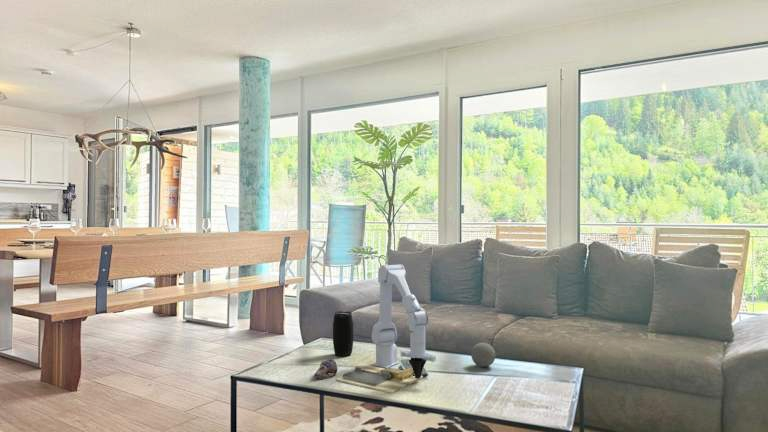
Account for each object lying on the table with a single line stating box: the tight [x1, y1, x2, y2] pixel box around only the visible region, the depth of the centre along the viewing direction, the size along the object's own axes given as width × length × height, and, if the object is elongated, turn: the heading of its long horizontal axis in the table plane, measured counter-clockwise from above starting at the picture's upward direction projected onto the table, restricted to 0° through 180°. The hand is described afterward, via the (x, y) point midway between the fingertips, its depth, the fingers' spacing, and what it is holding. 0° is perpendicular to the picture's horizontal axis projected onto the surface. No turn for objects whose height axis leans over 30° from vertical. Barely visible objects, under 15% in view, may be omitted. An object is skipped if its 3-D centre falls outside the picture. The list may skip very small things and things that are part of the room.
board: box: [335, 365, 424, 394], centre depth 203 cm, size 22×26×1 cm
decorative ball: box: [470, 342, 496, 368], centre depth 219 cm, size 10×10×10 cm
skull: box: [313, 358, 338, 381], centre depth 207 cm, size 12×8×6 cm, turn 144°
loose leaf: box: [377, 366, 414, 381], centre depth 205 cm, size 8×12×3 cm
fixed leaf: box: [341, 366, 392, 386], centre depth 201 cm, size 10×17×2 cm, turn 56°
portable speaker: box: [332, 310, 354, 358], centre depth 239 cm, size 9×9×20 cm
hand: (417, 377), depth 199 cm, fingers closed
